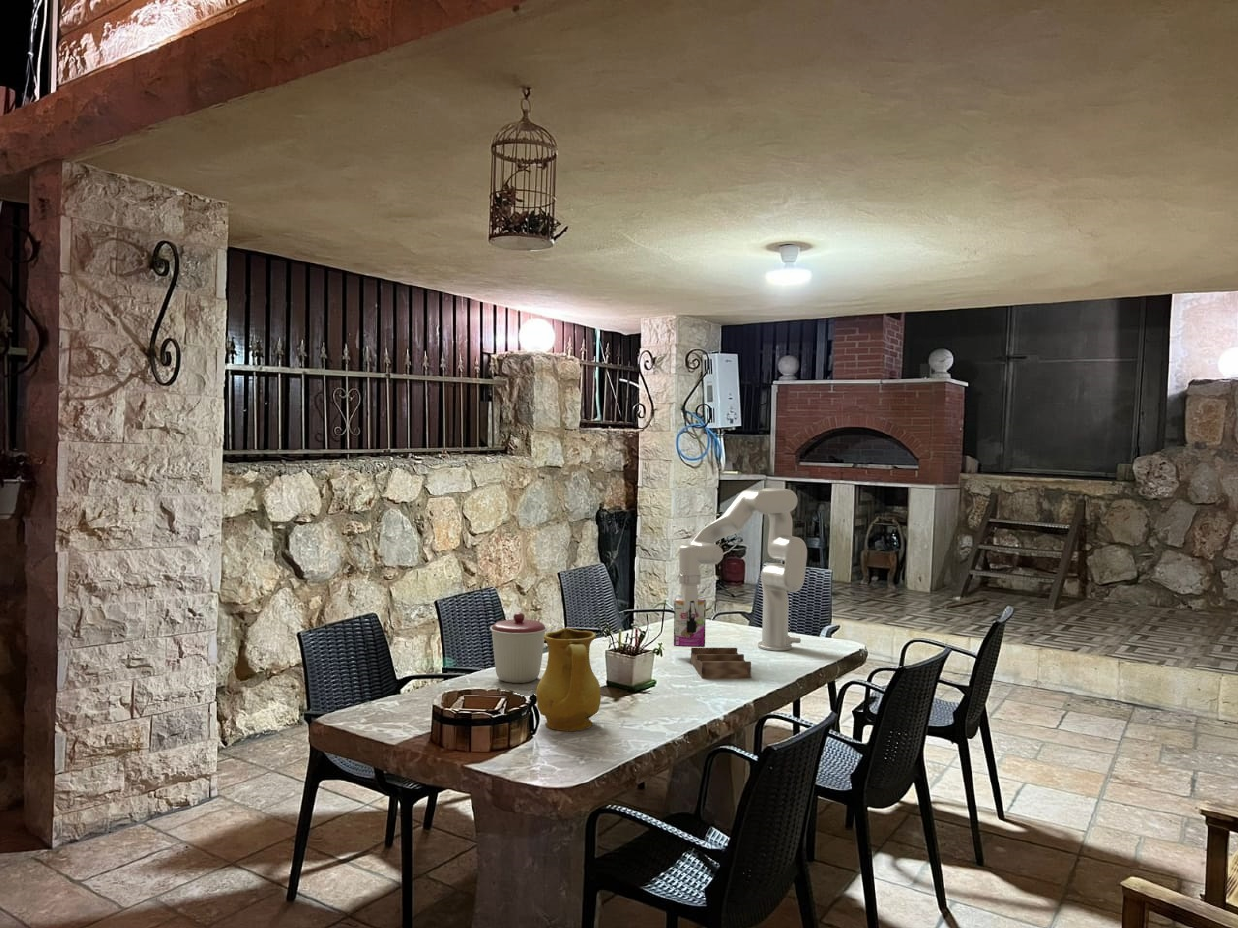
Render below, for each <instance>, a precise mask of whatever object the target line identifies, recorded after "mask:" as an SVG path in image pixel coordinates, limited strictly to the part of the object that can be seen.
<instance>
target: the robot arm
mask: <svg viewBox="0 0 1238 928" xmlns="http://www.w3.org/2000/svg"><path fill="white" fill-rule="evenodd" d="M798 500H799V499H798V497H797V494H796V493H795V491H793V490H792V489H789V488H778V487H777V488H775V487H764V488H762V489H761V490H760V489H759V490H758V489H745V490H742V491H741V492H740V493H739V494H738V495H737V496H736V497H735V499H734V500H733V502H732V503H731V504H730V506H729V507H728V508H727V509H726V510H725V512H724V513H723V514H722V515H721V516H720V517H719V518H717V519H716V520H714V521H713V522H711V523H710V524H708V525H706V526H705V527H703V528H702V529H701V530H700V531H698V533H697V534H696V536H695V537H694V538H693V539H692V541H691V543H686V544H682V545H680V546H679V548H678V549H679V552H678V553H679V555H678V556H679V558H678V560H679V561H678V562H679V563H678V564H679V565H678V567H679V568H678V569H679V571H678V574H679V575H678V577H679V578H678V581H679V583H678V584H679V585H680V586H681V587H680V599H682V600H683V612H684V613H686V612H687V619H688V621H687V633H695V632H696V614H695V613H697V612H698V599H699V588H698V586H699V585H701V583H702V582H701V580H702V579H701V578H702V577H701V575H702V574H701V573H702V572H701V567H702V566H701V565H707V566H708V565H710V566H712V565H713V566H714V565H717V564H719V563H720V562H721V561H722V560H723V558H724V551H723V549H722V547H721V546H720V545H718V544H715V543H716V542H718V541H719V540H722V539H723V538H728V537H730V536H734V535H735V534H738V533H740V532H741V531H742V529H743V528H744V527H745V526H746V524H747V523H748V522H749V520H750V519H751V518H752V516H753V515H754V514H759V515H767V516H768V520H769V530H768V542H767V554H768V555H769V557H770V558H771V559H774V560H777V561H778V560H779V561H782V562H784V564H783V563H777V562H770V563H767V564H766V565H765V566H764V567H763V568H762V570H761V572H760V581H761V586H762V626H761V627H762V630H761V632H762V633H761V636H762V638H761V641H759V642H758V643H757V647H758V648H760V649H763V650H767V651H776V652H777V651H778V652H779V651H781V652H783V651H789V650H791V649H793V645H792V644H801V639H802V638H800V637H794V636H790V635H789V607H790V606H789V605H790V604H789V602H790V600H789V595H788V592H789V593H797V592H799V591H800V590H801V589H802V587H803V585H804V582H805V577H806V571H807V570H806V568H807V567H806V566H807V558H808V549H807V545H806V543H805V541H804V540H803V539H802V538H801V537H798V536H793V518H792V517H793V516H792V514H791V512H792V511H794V510H795V509H796V507H797V506H798ZM695 609H696V611H695ZM689 611H691V612H689ZM689 614H691V615H690V616H689Z"/></svg>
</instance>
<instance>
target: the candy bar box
mask: <svg viewBox="0 0 1238 928" xmlns="http://www.w3.org/2000/svg"><path fill="white" fill-rule="evenodd" d="M706 603H707V600H706V598H705V599H704V598H698V612H697V613H695V614H696V632H695V633H687V621H688V619H687V612H686V613H684V612H683V600H682V599H681V597H680V598H679V597H677V598H674V602H673V604H674V605H673V606H674V608H673V609H674V612H673V618H674V619H673V647H683V648H706V621H707V620H706V617H707V616H706V615H707V613H706V610H707V609H706V607H707V604H706ZM695 611H696V609H695ZM689 612H691V611H689ZM690 615H691V614H689V616H690Z"/></svg>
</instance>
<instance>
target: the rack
mask: <svg viewBox="0 0 1238 928" xmlns="http://www.w3.org/2000/svg"><path fill="white" fill-rule="evenodd" d="M690 664H691V665H692V666H693V668H694V669H695V670H696V673H698V675H699V676H700V677H701V679H752V662H751V660H750V661H746V660H745V654H743V653H742V654H741V653H740V654H739V653H738V647H690Z"/></svg>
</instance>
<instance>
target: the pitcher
mask: <svg viewBox="0 0 1238 928" xmlns="http://www.w3.org/2000/svg"><path fill="white" fill-rule="evenodd" d="M594 639H596V633H595V632H593V631H590V630H577V629H573V628H568V627H566V628H560V629H559V630H557V631H550V632H549V631H548V632H547V633H546V632H545V635H544V641H545V642H546V643H547V646H548V656H547V664H546V667H545V668H546V669H545V671H544V673H543V675H542V676H541V678H540V680H538V683H537V686H536V691H535V692H536V694H535V695H536V696H535V697H536V703H537V704H536V705H537V706H536V707H537V710H538V711H539V713H540V715H541V716H543V717H545V719H546V722H545V725H544V726H545V727H546V728H548V729H551V730H555V731H562V732H563V731H564V732H573V731H575V732H576V731H577V732H578V731H580V732H581V731H583V730H586V729H590V728H591V727H592V726H593V722H592V721H591V719H590V718H592V717H593V716H594V715H596V714H597V713H599V709H600V707H601V706H600V705H601V700H602V698H601V696H602V695H601V685H600V683H599V680H598V678H597V676H596V675H595V674H594V671H593V669H592V667H591V663H590V651H591V650H590V647H591V644H592V642H593V640H594Z"/></svg>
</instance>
